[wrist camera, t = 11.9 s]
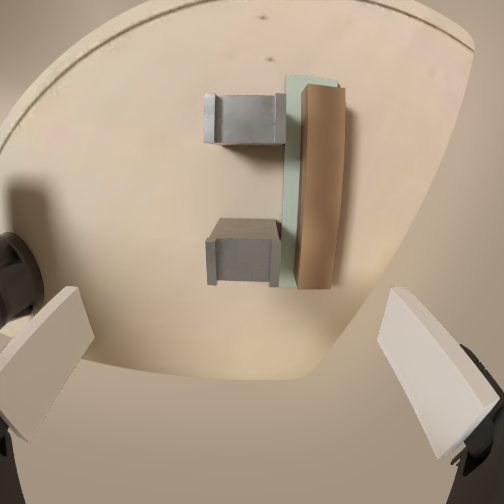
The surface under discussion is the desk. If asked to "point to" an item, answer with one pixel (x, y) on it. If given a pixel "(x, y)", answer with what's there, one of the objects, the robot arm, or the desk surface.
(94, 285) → the desk surface
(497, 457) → the robot arm
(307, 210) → the rail
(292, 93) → the mat
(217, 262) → the cradle posts
